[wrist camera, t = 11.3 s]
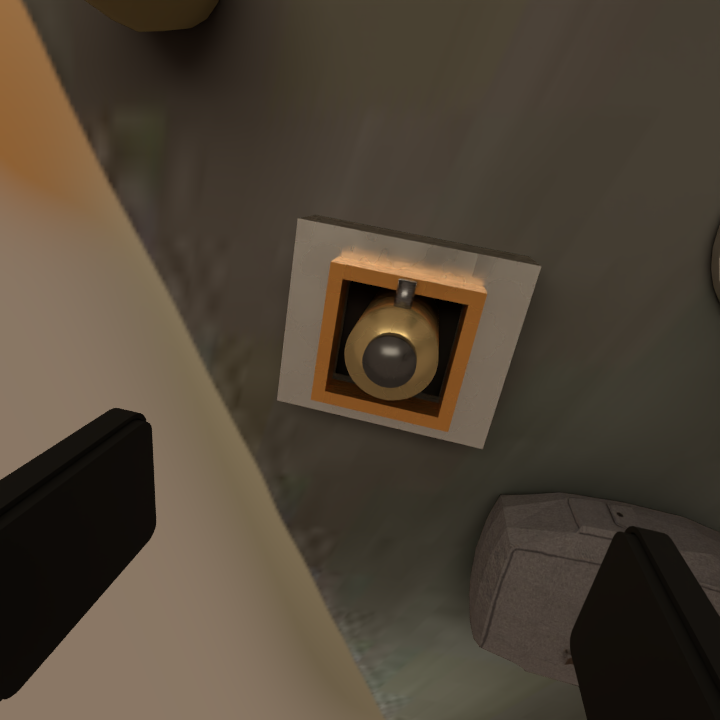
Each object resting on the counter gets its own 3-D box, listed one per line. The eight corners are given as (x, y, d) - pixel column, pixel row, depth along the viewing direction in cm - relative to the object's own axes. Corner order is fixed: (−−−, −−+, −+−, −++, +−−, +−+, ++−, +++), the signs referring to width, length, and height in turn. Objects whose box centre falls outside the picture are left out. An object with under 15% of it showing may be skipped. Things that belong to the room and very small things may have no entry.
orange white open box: (528, 256, 29) (549, 272, 23) (478, 420, 33) (485, 466, 28) (315, 214, 30) (286, 220, 24) (294, 377, 34) (266, 413, 29)
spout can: (430, 359, 32) (425, 416, 24) (361, 343, 33) (334, 394, 24) (452, 270, 30) (456, 300, 22) (378, 254, 30) (354, 278, 22)
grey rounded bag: (454, 600, 40) (696, 656, 37) (457, 699, 32) (763, 777, 30) (493, 455, 34) (780, 510, 32) (508, 532, 26) (889, 612, 24)
